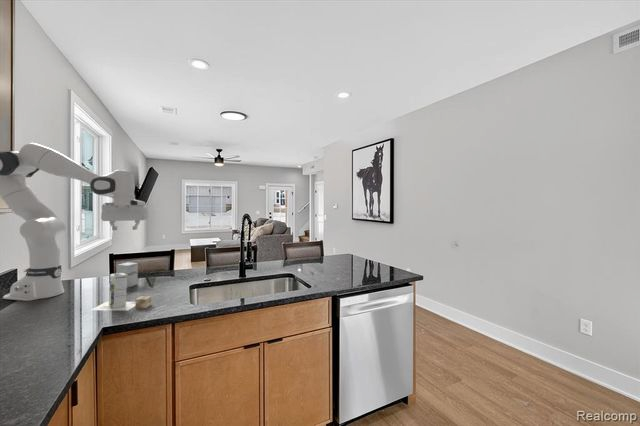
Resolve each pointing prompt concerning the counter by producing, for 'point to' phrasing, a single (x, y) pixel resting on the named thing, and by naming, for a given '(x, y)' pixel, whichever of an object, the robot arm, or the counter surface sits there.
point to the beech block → (143, 302)
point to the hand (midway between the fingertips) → (124, 229)
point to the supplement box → (129, 272)
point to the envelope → (106, 307)
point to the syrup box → (117, 290)
